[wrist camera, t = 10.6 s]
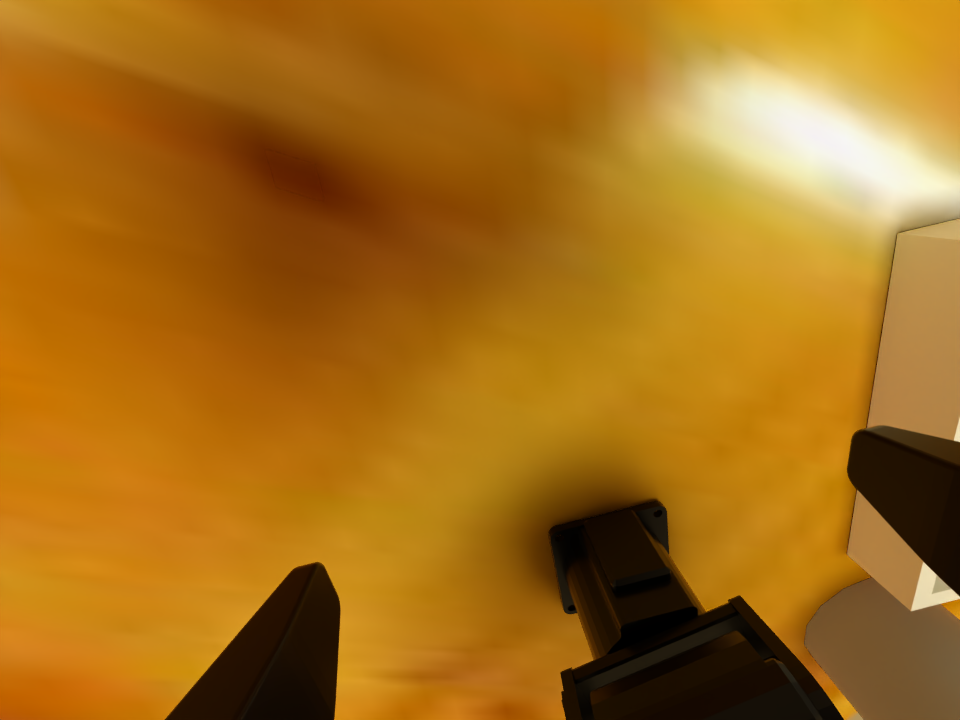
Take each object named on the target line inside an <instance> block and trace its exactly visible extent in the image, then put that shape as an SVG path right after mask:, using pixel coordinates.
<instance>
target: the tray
mask: <svg viewBox="0 0 960 720" xmlns="http://www.w3.org/2000/svg"><path fill="white" fill-rule="evenodd" d="M878 425H886V426H891V427H895V428H900V429H904V430H909V431H913V432H918V433H922V434H927V435H931V436H936V437H940V438H945V439H949V440H954V441H958V442H960V219H956V220H952V221H947V222H943V223H939V224H935V225H930V226H926V227H922V228H918V229H914V230H909V231H905V232H901V233H898V235H897V241H896V247H895V254H894V260H893V266H892V273H891V279H890V285H889V292H888V298H887V304H886V311H885V317H884V323H883V330H882V336H881V342H880V348H879V355H878V361H877V367H876V374H875V380H874V386H873V393H872V399H871V405H870V412H869V418H868V424H867V428H869V427H873V426H878ZM847 555H848V556H849V557H850V558H851V559H852V560H854V561H855V562H856V563H857V564H858V565H859V566H860V567H861V568H863V569H864V570H865V571H866V572H867V573H868V574H869V575H870V576H872V577H873V578H874V579H875V580H876V581H877V582H878V583H879V584H881V585H882V586H883V587H884V588H885V589H886V590H887V591H888V592H890V593H891V594H892V595H893V596H894V597H895V598H896V599H898V600H899V601H900V602H901V603H902V604H903V605H904V606H905V607H907V608H908V609H909V610H910V611H914V610H918V609H922V608H926V607H930V606H933V605H937V604H941V603H945V602H949V601H953V600H957V599H960V597H959V596H958V595H957V594H956V593H955V592H954V591H953V590H952V589H951V588H950V587H949V586H948V585H947V584H946V583H944V582H943V581H942V580H941V579H940V578H939V577H938V576H937V575H936V574H935V573H934V572H933V571H932V570H931V569H930V568H929V567H928V566H927V565H926V564H925V563H924V562H923V561H922V560H921V559H920V558H919V557H918V555H917V554H916V553H915V552H914V551H913V550H912V549H911V548H910V547H909V546H908V545H907V544H906V542H905V541H904V540H903V539H902V538H901V537H900V536H899V535H898V534H897V533H896V532H895V530H894V529H893V528H892V527H891V526H890V525H889V524H888V523H887V522H886V521H885V519H884V518H883V517H882V516H881V515H880V514H879V513H878V512H877V511H876V510H875V509H874V507H873V506H872V505H871V504H870V503H869V502H868V501H867V500H866V499H865V498H864V497H863V495H862V494H861V493H860V492H859V491H858V490H857V494H856V500H855V507H854V513H853V519H852V525H851V532H850V538H849V544H848V551H847Z"/></svg>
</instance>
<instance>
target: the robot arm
mask: <svg viewBox="0 0 960 720" xmlns="http://www.w3.org/2000/svg"><path fill="white" fill-rule="evenodd" d="M847 473H848V477H849V479H850V481H851V483H852V484H853V485H854V487H855V488H856V489H857V490H858V491H859V492H860V493H861V494H862V495H863V497H864V498H865V499H866V500H867V501H868V502H869V503H870V504H871V505H872V506H873V507H874V509H875V510H876V511H877V512H878V513H879V514H880V515H881V516H882V517H883V518H884V519H885V521H886V522H887V523H888V524H889V525H890V526H891V527H892V528H893V529H894V530H895V532H896V533H897V534H898V535H899V536H900V537H901V538H902V539H903V540H904V541H905V542H906V544H907V545H908V546H909V547H910V548H911V549H912V550H913V551H914V552H915V553H916V554H917V555H918V557H919V558H920V559H921V560H922V561H923V562H924V563H925V564H926V565H927V566H928V567H929V568H930V569H931V570H932V571H933V572H934V573H935V574H936V575H937V576H938V577H939V578H940V579H941V580H942V581H943V582H944V583H946V584H947V585H948V586H949V587H950V588H951V589H952V590H953V591H954V592H955V593H956V594H957V595H958V596H959V597H960V442H958V441H954V440H949V439H945V438H940V437H936V436H931V435H927V434H922V433H918V432H913V431H909V430H904V429H900V428H895V427H891V426H886V425H878V426H873V427H869V428H865V429H861V430H858V431H856V432H855V433H854V435H853V436H852V439H851V446H850V453H849V459H848V466H847ZM656 510H657V511H656ZM655 511H656V512H655ZM557 535H560V536H557ZM549 540H550V545H551V550H552V555H553V560H554V566H555V571H556V576H557V581H558V586H559V592H560V597H561V602H562V606H563V609H564V611H565V613H567V614H574V613H578V616H579V619H580V622H581V624H582V627H583V630H584V633H585V636H586V639H587V642H588V644H589V647H590V650H591V653H592V656H593V659H594V660H593V661H591V662H589V663H586V664H584V665H582V666H579V667H577V668H575V669H572V668H569V669H566V670H564V671H562V672H561V679H562V684H563V690H564V691H562V692H561V693H562V704H563V708H564V712H565V717H566V720H844V719H843V718H842V716H841V715H840V713H839V712H838V710H837V709H836V707H835V706H834V704H833V703H832V701H831V700H830V699H829V697H828V696H827V694H826V693H825V692H824V690H823V689H822V687H821V686H820V685H819V684H818V682H817V681H816V680H815V679H814V677H813V676H812V675H811V673H810V672H809V671H808V670H807V669H806V668H805V666H804V665H803V664H802V663H801V662H800V661H799V660H798V659H797V658H796V656H795V655H794V654H793V653H792V652H791V651H790V650H789V649H788V648H787V647H786V645H785V644H784V643H783V642H782V641H781V640H780V639H779V638H778V637H777V636H776V635H775V633H774V632H773V631H772V630H771V629H770V628H769V627H768V626H767V625H766V624H765V622H764V621H763V620H762V619H761V618H760V617H759V616H758V615H757V614H756V613H755V612H754V610H753V609H752V608H751V607H750V606H749V605H748V604H747V603H746V602H745V601H744V599H743V598H742V597H741V596H740V595H739V596H736V597H734V598H732V599H729V600H728V603H726V604H724V605H721V606H719V607H717V608H714V609H712V610H710V611H708V612H706V611H705V610H704V608H703V606H702V605H701V603H700V602H699V600H698V599H697V597H696V596H695V594H694V593H693V591H692V590H691V588H690V587H689V585H688V583H687V582H686V580H685V579H684V577H683V576H682V574H681V573H680V571H679V570H678V568H677V567H676V565H675V563H674V562H673V560H672V559H671V557H670V556H669V544H668V526H667V511H666V508H665V507H664V506H663V504H662V503H661V502H658V501H654V502H650V503H646V504H642V505H638V506H634V507H630V508H626V509H622V510H618V511H614V512H610V513H606V514H602V515H598V516H594V517H590V518H586V519H582V520H578V521H574V522H570V523H566V524H562V525H558V526H555V527H553V528H551V529H550V531H549ZM339 629H340V601H339V597H338V595H337V592H336V590H335V588H334V586H333V584H332V582H331V579H330V577H329V575H328V573H327V571H326V569H325V567H324V565H323V564H322V563H319V562H315V563H311V564H307V565H303V566H298V567H296V568H294V569H293V570H292V571H291V572H290V573H289V574H288V576H287V577H286V578H285V579H284V580H283V581H282V583H281V584H280V585H279V586H278V587H277V588H276V590H275V591H274V592H273V593H272V594H271V595H270V597H269V598H268V599H267V600H266V601H265V603H264V604H263V605H262V606H261V607H260V608H259V610H258V611H257V612H256V613H255V614H254V615H253V617H252V618H251V619H250V620H249V621H248V622H247V624H246V625H245V626H244V627H243V628H242V630H241V631H240V632H239V633H238V634H237V635H236V637H235V638H234V639H233V640H232V641H231V642H230V644H229V645H228V646H227V647H226V648H225V650H224V651H223V652H222V653H221V654H220V655H219V657H218V658H217V659H216V660H215V661H214V662H213V664H212V665H211V666H210V667H209V668H208V669H207V671H206V672H205V673H204V674H203V675H202V677H201V678H200V679H199V680H198V681H197V682H196V684H195V685H194V686H193V687H192V688H191V689H190V691H189V692H188V693H187V694H186V695H185V696H184V698H183V699H182V700H181V701H180V702H179V704H178V705H177V706H176V707H175V708H174V709H173V711H172V712H171V713H170V714H169V715H168V716H167V718H166V719H165V720H334V717H335V703H336V686H337V667H338V648H339Z"/></svg>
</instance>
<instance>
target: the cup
mask: <svg viewBox="0 0 960 720" xmlns="http://www.w3.org/2000/svg"><path fill="white" fill-rule="evenodd" d="M804 645H805V646H806V648H807V649H808V650H809V652H810V653H811V655H812V656H813V658H814V659H815V660H816V661H817V663H818V664H819V665H820V666H821V668H822V669H823V670H824V671H825V673H826V674H827V675H828V676H829V677H830V679H831V680H832V681H833V682H834V684H835V685H836V686H837V687H838V688H839V690H840V691H841V692H842V693H843V695H844V696H845V697H846V698H847V700H848V701H849V702H850V703H851V704H852V706H853V707H854V708H855V709H856V711H857V712H858V713H859V714H860V716H861V717H862V718H863V719H864V720H960V620H959V619H958V618H957V617H955V616H954V615H953V614H952V613H950V612H949V611H948V610H947V609H946V608H944V607H943V606H942V605H941V604H937V605H933V606H930V607H926V608H922V609H918V610H914V611H910V610H909V609H908V608H907V607H905V606H904V605H903V604H902V603H901V602H900V601H899V600H898V599H896V598H895V597H894V596H893V595H892V594H891V593H890V592H888V591H887V590H886V589H885V588H884V587H883V586H882V585H881V584H879V583H878V582H877V581H876V580H875V579H874V578H873V577H871V578H869V579H866V580H864V581H861V582H859V583H856V584H854V585H851V586H849V587H846V588H844V589H843V590H841V591H840V592H839V593H837V594H836V595H835V596H833V597H832V598H831V599H829V600H828V601H827V602H825V603H824V604H823V605H821V606H820V608H819V609H818V611H817V612H816V613H815V615H814V616H813V618H812V619H811V621H810V622H809V623H808V625H807V627H806V634H805V641H804Z"/></svg>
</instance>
